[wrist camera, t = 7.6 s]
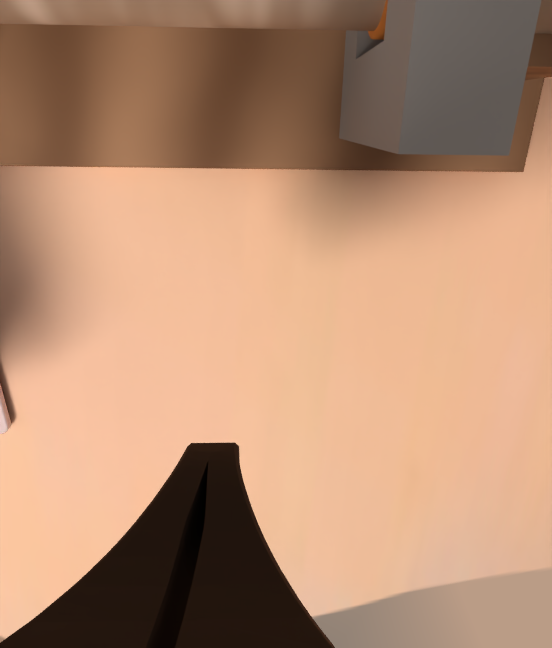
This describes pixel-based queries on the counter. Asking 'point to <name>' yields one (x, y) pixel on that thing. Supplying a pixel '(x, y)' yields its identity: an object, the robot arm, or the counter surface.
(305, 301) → the counter surface
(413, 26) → the collar
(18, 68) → the pipe stand
